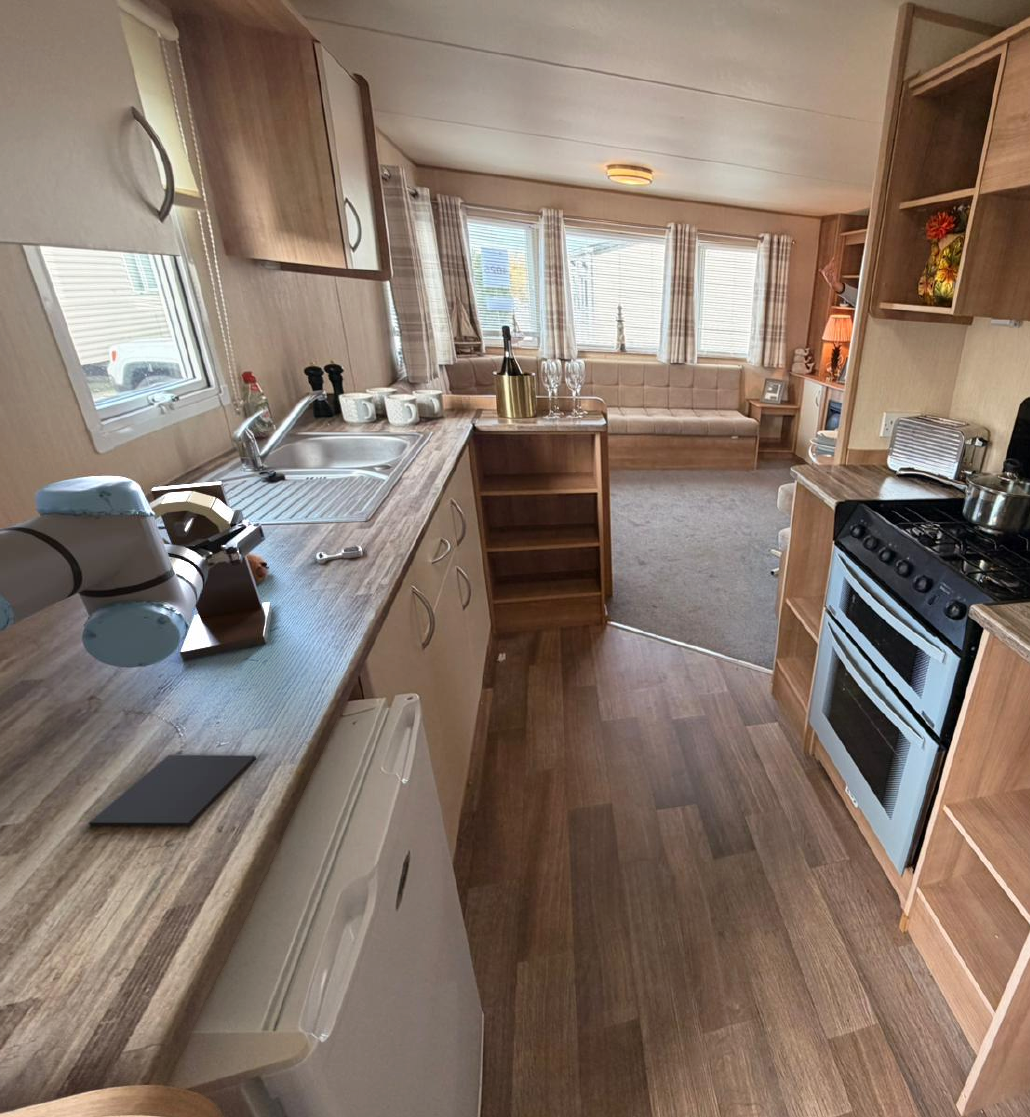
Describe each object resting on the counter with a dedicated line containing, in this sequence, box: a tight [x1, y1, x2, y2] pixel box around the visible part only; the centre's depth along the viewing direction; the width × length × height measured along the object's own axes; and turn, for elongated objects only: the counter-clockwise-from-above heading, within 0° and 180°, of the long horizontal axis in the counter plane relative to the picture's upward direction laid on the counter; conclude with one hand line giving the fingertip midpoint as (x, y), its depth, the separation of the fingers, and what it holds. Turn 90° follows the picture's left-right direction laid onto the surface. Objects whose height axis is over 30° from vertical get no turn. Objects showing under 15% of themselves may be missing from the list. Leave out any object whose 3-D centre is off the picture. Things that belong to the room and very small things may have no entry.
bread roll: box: [246, 552, 270, 586], centre depth 111 cm, size 10×10×8 cm
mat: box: [88, 754, 257, 828], centre depth 67 cm, size 10×10×1 cm
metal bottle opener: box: [315, 545, 363, 565], centre depth 123 cm, size 4×8×1 cm, turn 125°
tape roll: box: [149, 491, 234, 545], centre depth 86 cm, size 5×10×10 cm, turn 122°
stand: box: [150, 481, 273, 662], centre depth 91 cm, size 13×10×24 cm
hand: (194, 523), depth 90 cm, fingers closed on tape roll, 10 cm apart
